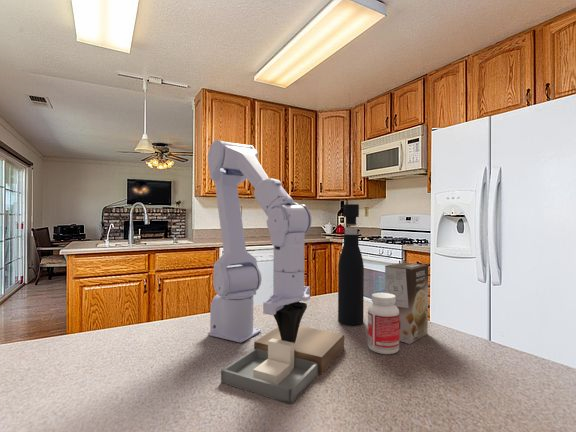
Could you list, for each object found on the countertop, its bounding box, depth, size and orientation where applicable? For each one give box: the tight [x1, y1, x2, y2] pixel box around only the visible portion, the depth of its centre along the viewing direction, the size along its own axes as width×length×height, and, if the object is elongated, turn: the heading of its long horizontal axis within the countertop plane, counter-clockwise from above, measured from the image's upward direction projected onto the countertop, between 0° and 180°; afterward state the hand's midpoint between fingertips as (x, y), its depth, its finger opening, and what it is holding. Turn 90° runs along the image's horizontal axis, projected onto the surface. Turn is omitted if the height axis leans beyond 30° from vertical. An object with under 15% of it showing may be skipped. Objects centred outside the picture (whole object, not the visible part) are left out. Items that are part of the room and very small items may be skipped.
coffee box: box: [384, 262, 429, 345], centre depth 75 cm, size 9×6×16 cm
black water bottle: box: [337, 203, 365, 327], centre depth 84 cm, size 6×6×30 cm
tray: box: [220, 348, 319, 405], centre depth 55 cm, size 13×10×2 cm
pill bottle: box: [367, 292, 400, 355], centre depth 67 cm, size 6×6×11 cm
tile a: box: [268, 338, 294, 372], centre depth 58 cm, size 4×4×2 cm
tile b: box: [253, 359, 290, 385], centre depth 55 cm, size 4×4×2 cm
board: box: [253, 325, 345, 375], centre depth 65 cm, size 14×12×3 cm
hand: (288, 343), depth 61 cm, fingers closed
